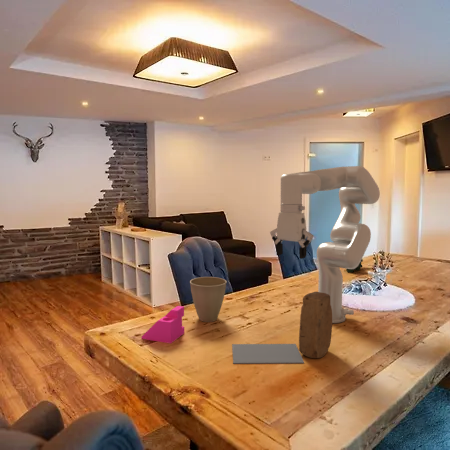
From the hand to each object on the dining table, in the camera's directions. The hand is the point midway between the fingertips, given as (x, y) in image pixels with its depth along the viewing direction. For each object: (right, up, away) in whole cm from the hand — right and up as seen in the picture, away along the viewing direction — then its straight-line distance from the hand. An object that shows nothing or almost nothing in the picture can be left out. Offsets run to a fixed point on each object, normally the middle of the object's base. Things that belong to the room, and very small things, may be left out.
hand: (290, 256), depth 140 cm
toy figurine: (+58, -18, +107) cm, 123 cm away
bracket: (-46, -30, +3) cm, 55 cm away
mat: (-10, -31, -12) cm, 35 cm away
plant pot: (-31, -28, +20) cm, 46 cm away
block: (+6, -31, -12) cm, 34 cm away
